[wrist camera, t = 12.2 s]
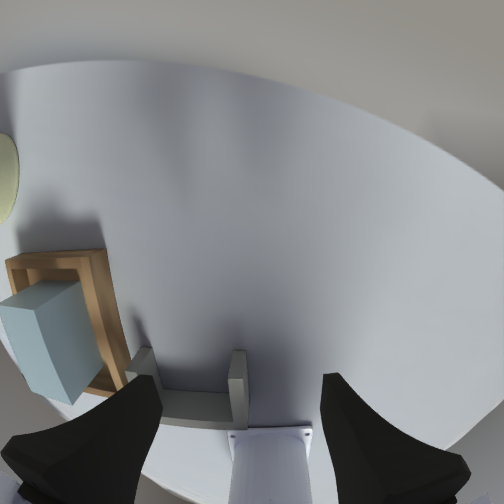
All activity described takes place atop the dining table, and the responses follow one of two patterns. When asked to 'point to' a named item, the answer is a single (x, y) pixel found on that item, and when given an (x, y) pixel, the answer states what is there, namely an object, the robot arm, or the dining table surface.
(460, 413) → the dining table surface
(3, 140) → the can
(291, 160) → the dining table surface
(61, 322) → the pale blue cuboid
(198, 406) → the bay
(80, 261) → the tray
